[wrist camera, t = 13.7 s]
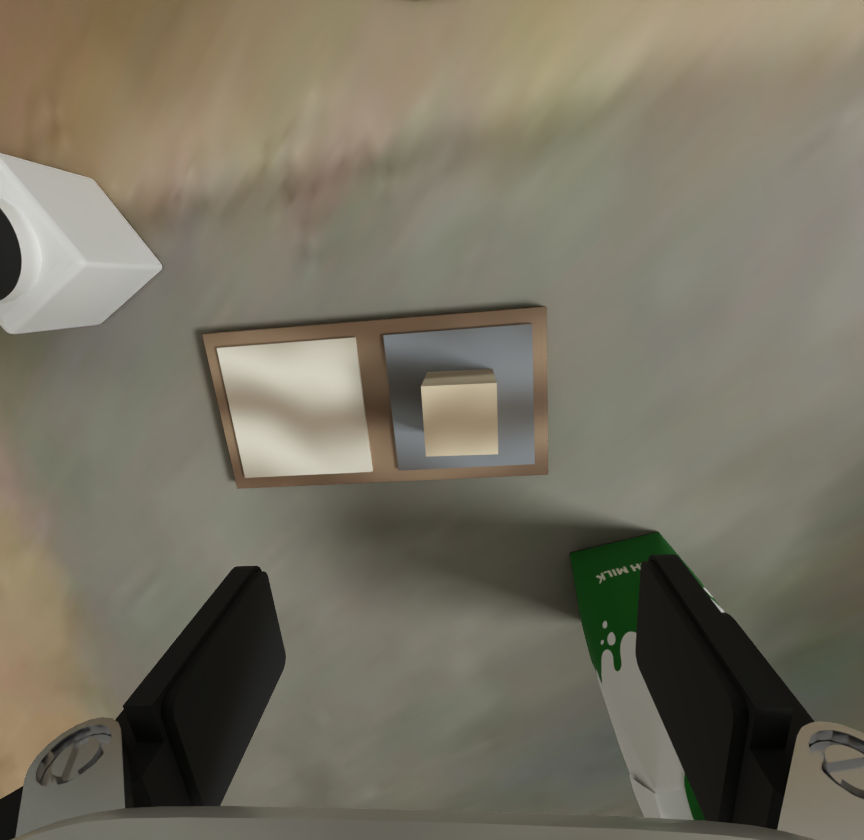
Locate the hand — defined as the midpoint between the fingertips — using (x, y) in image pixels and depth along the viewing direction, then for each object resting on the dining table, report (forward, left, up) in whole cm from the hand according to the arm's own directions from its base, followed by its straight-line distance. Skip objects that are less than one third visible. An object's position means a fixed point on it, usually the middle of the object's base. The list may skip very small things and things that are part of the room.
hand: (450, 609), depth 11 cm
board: (0, -6, -23) cm, 23 cm away
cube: (0, 0, -21) cm, 21 cm away
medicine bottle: (-12, -25, -23) cm, 36 cm away
